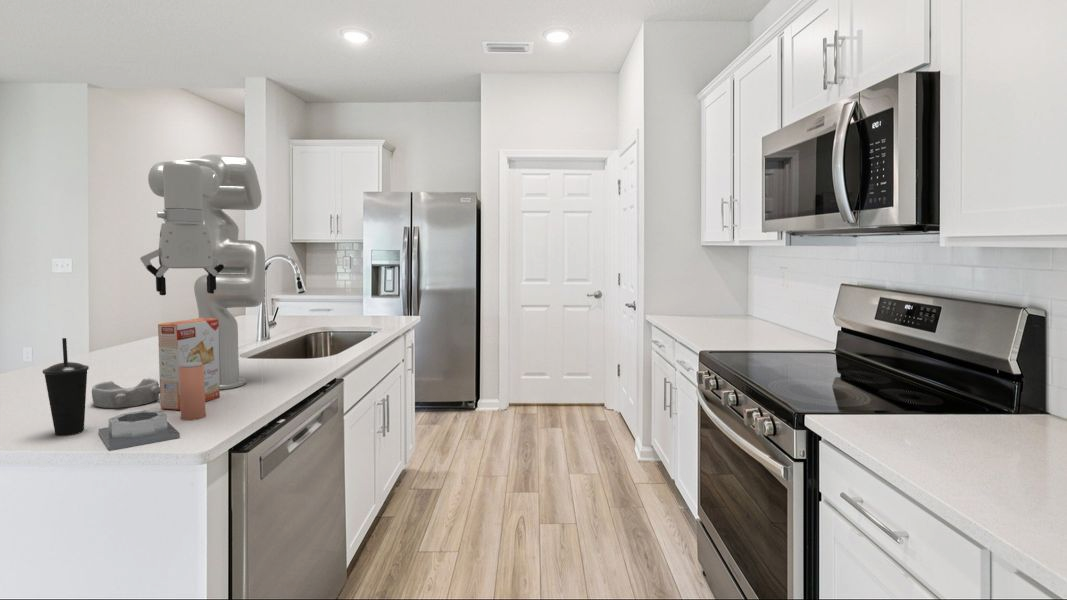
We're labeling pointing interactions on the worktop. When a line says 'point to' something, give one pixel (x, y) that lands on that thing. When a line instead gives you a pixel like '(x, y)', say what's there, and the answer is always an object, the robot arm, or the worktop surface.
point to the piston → (192, 390)
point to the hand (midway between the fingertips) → (187, 294)
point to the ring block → (137, 429)
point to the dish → (125, 394)
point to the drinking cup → (67, 394)
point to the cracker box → (188, 357)
